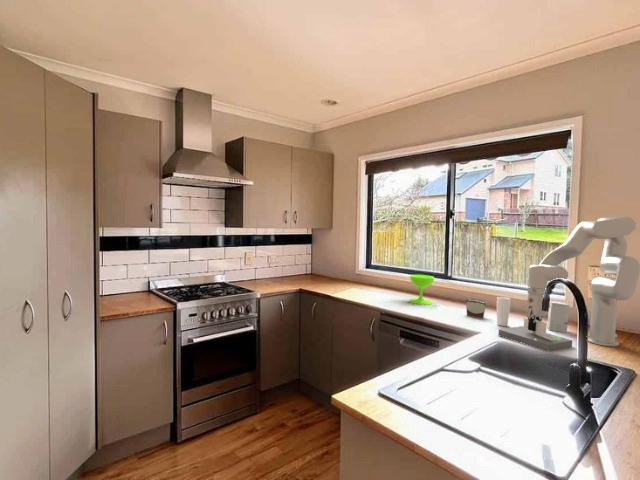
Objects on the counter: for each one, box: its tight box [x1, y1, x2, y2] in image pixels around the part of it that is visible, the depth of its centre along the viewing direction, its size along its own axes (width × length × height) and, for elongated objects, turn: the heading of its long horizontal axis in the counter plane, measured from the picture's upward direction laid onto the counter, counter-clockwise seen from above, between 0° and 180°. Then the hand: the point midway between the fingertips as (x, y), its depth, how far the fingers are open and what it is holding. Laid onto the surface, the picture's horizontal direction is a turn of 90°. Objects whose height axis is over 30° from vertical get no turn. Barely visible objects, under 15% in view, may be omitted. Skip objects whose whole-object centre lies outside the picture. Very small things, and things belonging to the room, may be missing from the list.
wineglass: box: [408, 274, 435, 306], centre depth 250 cm, size 16×16×18 cm
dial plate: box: [497, 325, 573, 352], centre depth 170 cm, size 18×24×3 cm
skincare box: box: [546, 300, 570, 333], centre depth 191 cm, size 8×6×15 cm
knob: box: [523, 317, 553, 341], centre depth 168 cm, size 15×3×6 cm, turn 13°
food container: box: [464, 297, 488, 319], centre depth 215 cm, size 12×6×10 cm, turn 47°
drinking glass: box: [496, 296, 512, 327], centre depth 197 cm, size 7×7×15 cm
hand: (534, 329), depth 170 cm, fingers closed on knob, 4 cm apart
